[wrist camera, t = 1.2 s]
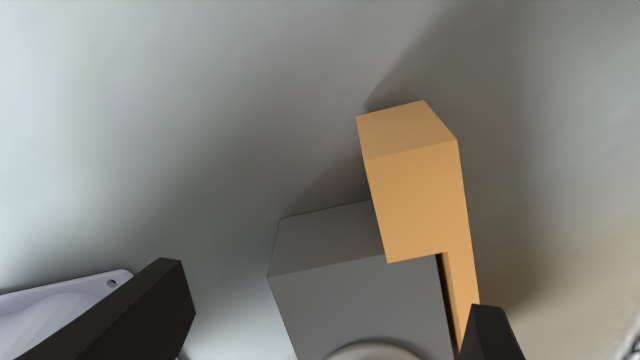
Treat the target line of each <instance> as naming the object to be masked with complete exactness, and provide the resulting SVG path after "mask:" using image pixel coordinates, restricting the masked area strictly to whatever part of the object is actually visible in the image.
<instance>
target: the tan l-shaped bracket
mask: <svg viewBox="0 0 640 360" xmlns="http://www.w3.org/2000/svg"><path fill="white" fill-rule="evenodd" d="M355 119H356V124H357V129H358V135H359V140H360V145H361V151H362V156H363V161H364V165H365V170H366V174H367V178H368V182H369V187H370V191H371V195H372V199H373V203H374V208H375V212H376V216H377V220H378V225H379V229H380V233H381V237H382V242H383V246H384V250H385V254H386V259H387V263H392V262H397V261H402V260H407V259H412V258H417V257H422V256H427V255H432V254H435V258H436V263H437V269H438V274H439V280H440V285H441V291H442V296H443V302H444V307H445V313H446V318H447V324H448V330H449V335H450V341H451V346H452V352H453V357H454V360H458V358H459V354H460V350H461V346H462V341H463V337H464V333H465V329H466V325H467V320H468V316H469V312H470V308H471V304H472V303H473V304H480V301H479V293H478V286H477V279H476V272H475V265H474V257H473V250H472V243H471V236H470V228H469V221H468V214H467V207H466V199H465V192H464V185H463V178H462V171H461V163H460V156H459V149H458V142H457V139H456V137H455V136H454V135H453V134H452V133H451V132H450V130H449V129H448V128H447V127H446V126H445V124H444V123H443V122H442V121H441V120H440V119H439V117H438V116H437V115H436V114H435V113H434V112H433V110H432V109H431V108H430V107H429V106H428V104H427V103H426V102H425V101H424V100H420V101H416V102H412V103H408V104H403V105H399V106H395V107H391V108H387V109H383V110H379V111H375V112H371V113H367V114H363V115H359V116H355Z"/></svg>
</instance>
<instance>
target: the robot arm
mask: <svg viewBox="0 0 640 360" xmlns="http://www.w3.org/2000/svg"><path fill="white" fill-rule="evenodd" d="M111 280H114V281H116V283H114V282H112V281H111ZM195 315H196V311H195V308H194V304H193V301H192V297H191V294H190V291H189V287H188V284H187V280H186V277H185V273H184V270H183V266H182V263H181V260H175V259H168V258H161V257H160V258H158V259H157V260H155V261H154V262H152V263H151V264H150V265H148V266H147V267H145V268H144V269H143V270H141V271H140V272H139V273H137V274H136V275H135V276H133V275H132V273H131V272H129V271H128V270H124V269H120V270H115V271H110V272H106V273H101V274H96V275H92V276H87V277H83V278H78V279H73V280H69V281H64V282H59V283H55V284H50V285H45V286H41V287H36V288H31V289H27V290H22V291H17V292H13V293H8V294H3V295H0V360H178V359H177V356H178V354H179V352H180V350H181V348H182V346H183V344H184V341H185V339H186V337H187V334H188V332H189V330H190V327H191V325H192V322H193V320H194V317H195ZM458 360H526V359H525V357H524V355H523V353H522V351H521V349H520V346H519V344H518V342H517V340H516V338H515V336H514V333H513V331H512V329H511V326H510V324H509V322H508V319H507V317H506V314H505V312H504V311H503V310H502V309H501V308H500V307H494V306H487V305H480V304H473V303H472V304H471V308H470V312H469V316H468V320H467V325H466V329H465V333H464V337H463V341H462V346H461V350H460V354H459V358H458Z"/></svg>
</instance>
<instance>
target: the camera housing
mask: <svg viewBox="0 0 640 360" xmlns="http://www.w3.org/2000/svg"><path fill="white" fill-rule="evenodd" d="M267 280H268V282H269V285H270V288H271V290H272V293H273V296H274V298H275V301H276V304H277V306H278V309H279V311H280V314H281V317H282V319H283V322H284V325H285V327H286V330H287V333H288V335H289V338H290V341H291V343H292V346H293V349H294V351H295V354H296V356H297V359H298V360H454V357H453V352H452V346H451V341H450V335H449V330H448V324H447V318H446V313H445V307H444V302H443V296H442V291H441V285H440V280H439V274H438V269H437V263H436V258H435V254H432V255H427V256H422V257H417V258H412V259H407V260H402V261H397V262H392V263H387V259H386V254H385V250H384V246H383V242H382V237H381V233H380V229H379V225H378V220H377V216H376V212H375V208H374V203H373V199H369V200H364V201H360V202H355V203H350V204H346V205H341V206H337V207H332V208H328V209H323V210H319V211H314V212H310V213H305V214H300V215H296V216H291V217H287V218H282V219H280V222H279V226H278V231H277V235H276V240H275V244H274V249H273V253H272V257H271V262H270V266H269V271H268V275H267Z"/></svg>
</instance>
